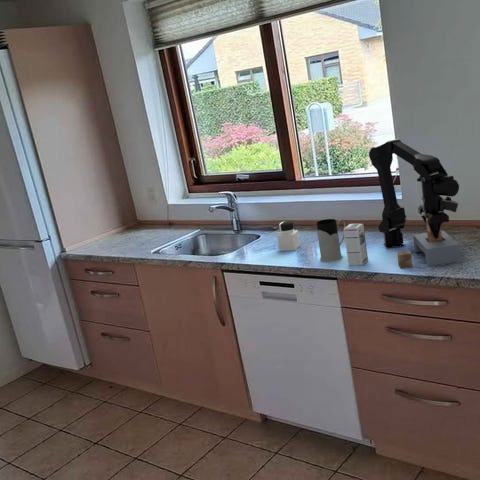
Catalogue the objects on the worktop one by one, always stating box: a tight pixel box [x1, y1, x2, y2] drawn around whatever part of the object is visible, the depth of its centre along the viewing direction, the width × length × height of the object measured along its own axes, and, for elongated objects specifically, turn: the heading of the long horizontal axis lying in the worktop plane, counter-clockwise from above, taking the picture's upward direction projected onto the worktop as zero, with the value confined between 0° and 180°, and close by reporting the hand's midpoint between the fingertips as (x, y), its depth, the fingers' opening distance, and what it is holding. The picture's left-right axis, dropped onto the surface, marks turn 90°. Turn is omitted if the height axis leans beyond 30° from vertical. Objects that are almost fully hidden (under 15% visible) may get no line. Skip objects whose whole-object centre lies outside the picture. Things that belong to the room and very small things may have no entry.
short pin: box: [396, 249, 413, 270], centre depth 197 cm, size 4×4×5 cm
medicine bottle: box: [276, 220, 301, 252], centre depth 243 cm, size 7×7×12 cm
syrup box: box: [343, 222, 369, 266], centre depth 208 cm, size 6×6×14 cm
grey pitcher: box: [316, 218, 347, 263], centre depth 220 cm, size 9×14×15 cm, turn 126°
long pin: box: [425, 217, 443, 243], centre depth 201 cm, size 4×4×9 cm
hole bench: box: [412, 230, 462, 267], centre depth 202 cm, size 11×20×6 cm, turn 176°
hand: (434, 236), depth 201 cm, fingers closed on long pin, 4 cm apart
